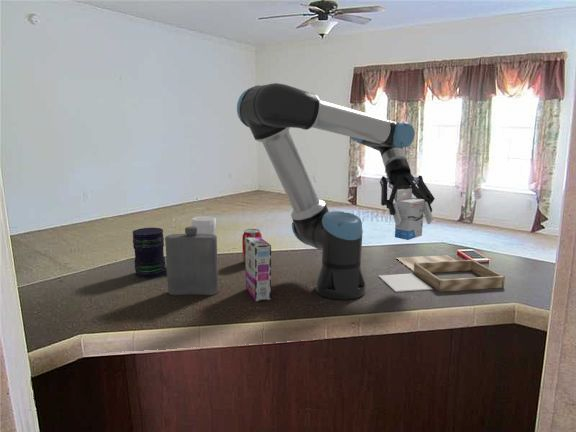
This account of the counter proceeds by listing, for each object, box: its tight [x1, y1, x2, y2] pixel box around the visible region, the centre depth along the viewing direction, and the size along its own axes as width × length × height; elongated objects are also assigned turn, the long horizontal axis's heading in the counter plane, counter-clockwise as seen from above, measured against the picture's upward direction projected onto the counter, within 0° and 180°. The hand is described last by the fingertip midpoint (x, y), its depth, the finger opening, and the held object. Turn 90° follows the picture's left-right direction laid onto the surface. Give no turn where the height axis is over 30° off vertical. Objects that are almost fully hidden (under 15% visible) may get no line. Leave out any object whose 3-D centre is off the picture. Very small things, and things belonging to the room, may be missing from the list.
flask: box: [164, 225, 219, 296], centre depth 131 cm, size 15×6×20 cm, turn 91°
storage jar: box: [132, 227, 166, 280], centre depth 147 cm, size 10×10×15 cm
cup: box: [191, 215, 219, 262], centre depth 162 cm, size 9×9×16 cm
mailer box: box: [395, 254, 506, 293], centre depth 151 cm, size 22×34×4 cm, turn 10°
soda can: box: [241, 228, 263, 264], centre depth 160 cm, size 7×7×12 cm
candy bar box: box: [245, 237, 272, 302], centre depth 129 cm, size 11×5×16 cm, turn 21°
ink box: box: [394, 188, 425, 241], centre depth 136 cm, size 8×5×15 cm, turn 134°
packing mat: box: [378, 272, 434, 293], centre depth 141 cm, size 12×14×1 cm
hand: (414, 222), depth 133 cm, fingers closed on ink box, 9 cm apart
